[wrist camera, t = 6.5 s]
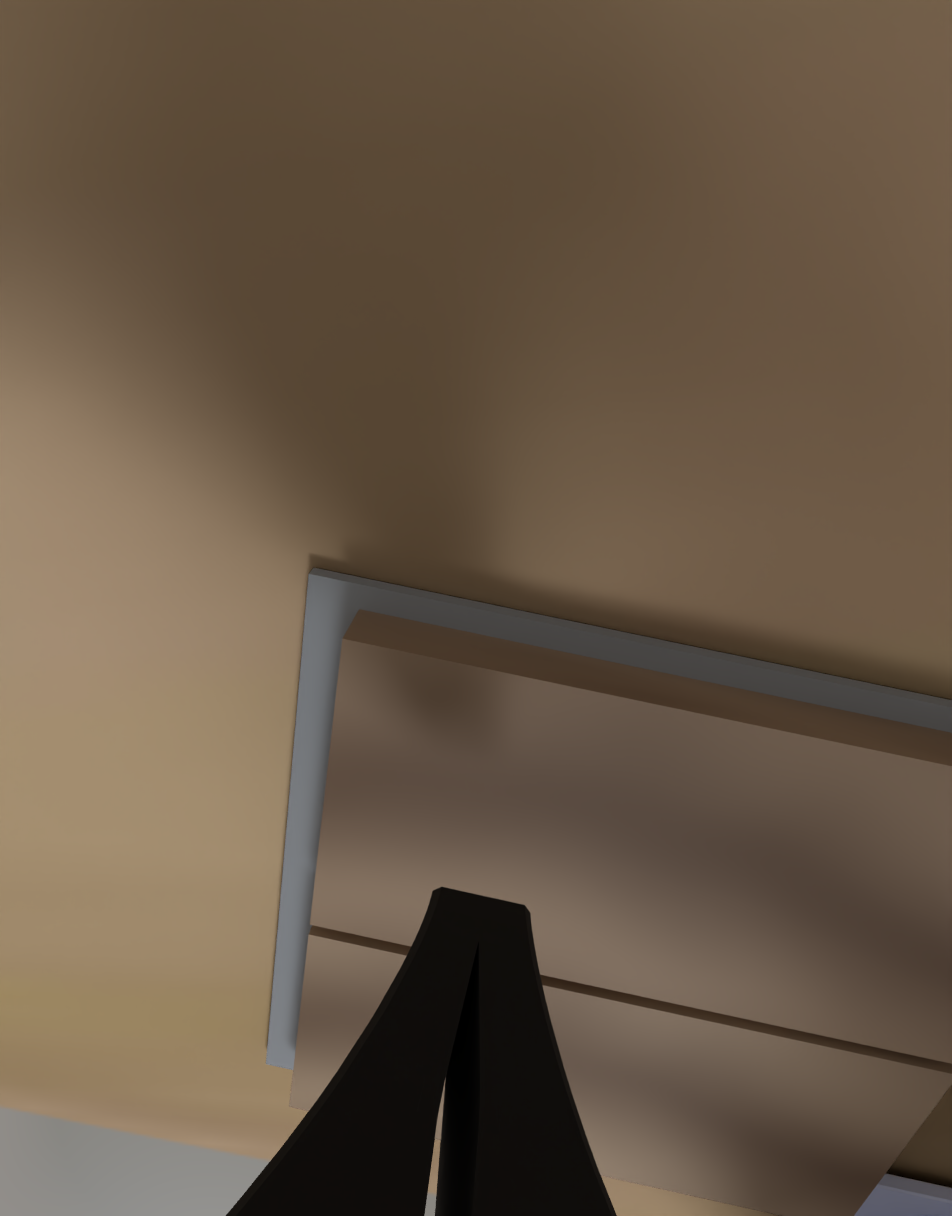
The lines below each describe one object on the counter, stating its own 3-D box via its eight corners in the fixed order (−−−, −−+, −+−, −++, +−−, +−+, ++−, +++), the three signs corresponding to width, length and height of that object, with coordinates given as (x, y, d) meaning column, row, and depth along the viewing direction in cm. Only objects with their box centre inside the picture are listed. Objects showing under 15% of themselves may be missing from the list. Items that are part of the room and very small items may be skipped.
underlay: (855, 1182, 20) (859, 1194, 20) (269, 1053, 20) (266, 1063, 20) (1169, 745, 14) (1180, 755, 14) (313, 567, 14) (309, 573, 14)
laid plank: (828, 1176, 20) (844, 1229, 19) (304, 1060, 20) (289, 1106, 19) (933, 1023, 17) (958, 1075, 16) (324, 891, 17) (308, 934, 16)
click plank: (939, 1014, 17) (965, 1066, 16) (325, 881, 17) (309, 924, 16) (1109, 765, 14) (1155, 808, 13) (359, 609, 14) (342, 638, 13)
